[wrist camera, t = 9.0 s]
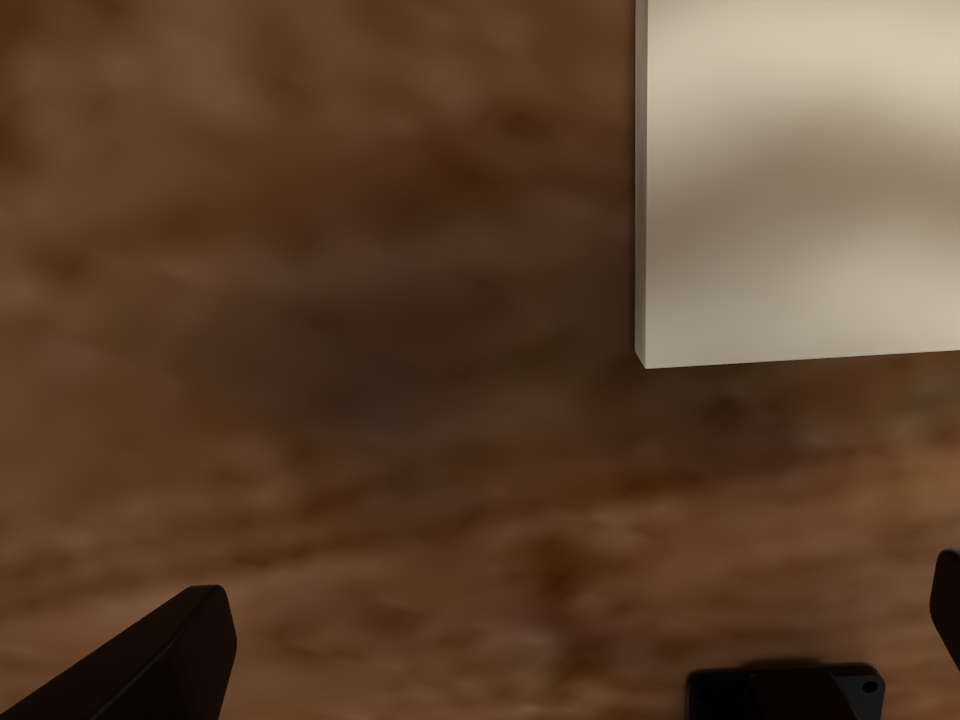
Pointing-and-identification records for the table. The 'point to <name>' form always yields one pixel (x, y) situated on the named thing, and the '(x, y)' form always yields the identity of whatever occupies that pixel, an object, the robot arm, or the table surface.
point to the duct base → (796, 179)
